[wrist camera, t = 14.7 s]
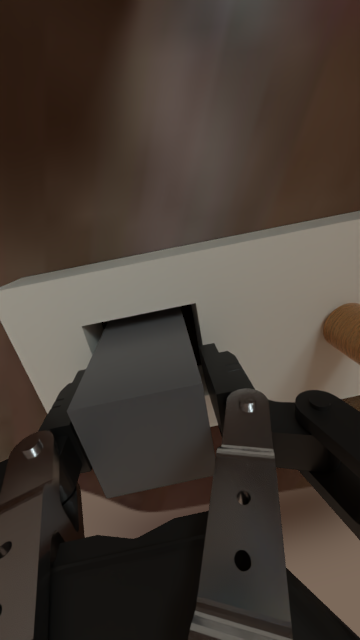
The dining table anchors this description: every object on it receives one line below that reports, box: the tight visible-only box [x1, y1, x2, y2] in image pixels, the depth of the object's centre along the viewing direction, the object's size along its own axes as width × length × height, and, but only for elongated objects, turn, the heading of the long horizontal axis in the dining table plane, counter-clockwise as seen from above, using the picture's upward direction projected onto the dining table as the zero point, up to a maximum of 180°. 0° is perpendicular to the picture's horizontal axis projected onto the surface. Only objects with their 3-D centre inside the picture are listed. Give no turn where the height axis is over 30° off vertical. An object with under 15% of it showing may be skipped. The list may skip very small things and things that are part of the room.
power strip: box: [0, 211, 360, 427], centre depth 14 cm, size 10×22×4 cm, turn 100°
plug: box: [67, 306, 215, 498], centre depth 12 cm, size 4×4×8 cm
